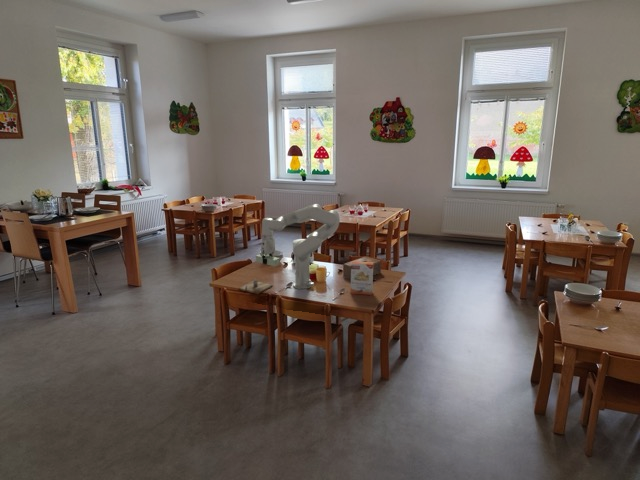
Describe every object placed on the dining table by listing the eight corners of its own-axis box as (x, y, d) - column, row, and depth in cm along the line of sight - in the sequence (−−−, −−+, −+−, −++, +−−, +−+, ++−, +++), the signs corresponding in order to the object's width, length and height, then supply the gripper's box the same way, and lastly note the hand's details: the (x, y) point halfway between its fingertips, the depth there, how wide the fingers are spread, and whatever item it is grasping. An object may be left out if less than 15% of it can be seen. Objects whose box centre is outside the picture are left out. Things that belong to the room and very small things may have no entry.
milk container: (296, 259, 346) (296, 237, 342) (316, 261, 341) (316, 239, 337) (288, 265, 331) (288, 243, 326) (309, 267, 325) (309, 245, 321)
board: (272, 286, 286) (272, 278, 285) (258, 294, 272) (257, 286, 271) (253, 282, 294) (253, 274, 292) (238, 289, 280) (238, 281, 279)
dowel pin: (247, 288, 279) (247, 284, 278) (246, 289, 278) (246, 284, 277) (246, 288, 279) (246, 283, 278) (245, 288, 278) (244, 284, 277)
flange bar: (279, 264, 283) (279, 258, 282) (274, 266, 279) (274, 260, 278) (260, 259, 291) (260, 253, 290) (255, 261, 287) (255, 255, 286)
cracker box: (350, 294, 273) (350, 263, 268) (351, 290, 279) (351, 260, 274) (372, 295, 271) (373, 264, 266) (372, 292, 277) (373, 261, 272)
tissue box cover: (365, 269, 324) (365, 256, 321) (380, 273, 314) (381, 260, 311) (343, 277, 305) (343, 264, 303) (358, 282, 296) (359, 268, 293)
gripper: (264, 240, 271) (263, 266, 276) (280, 235, 286) (279, 260, 290) (255, 238, 275) (254, 264, 280) (271, 233, 289) (270, 258, 294)
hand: (267, 262), depth 285 cm, fingers closed on flange bar, 5 cm apart
